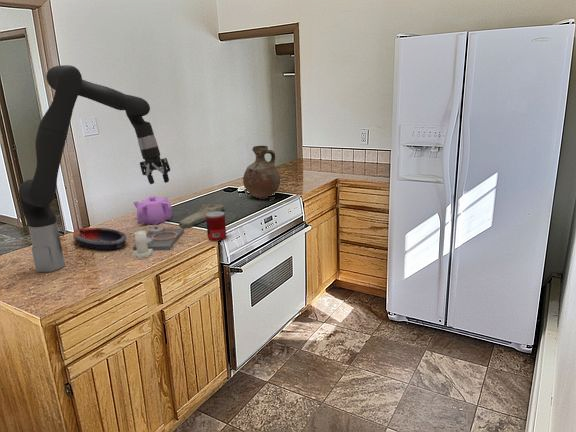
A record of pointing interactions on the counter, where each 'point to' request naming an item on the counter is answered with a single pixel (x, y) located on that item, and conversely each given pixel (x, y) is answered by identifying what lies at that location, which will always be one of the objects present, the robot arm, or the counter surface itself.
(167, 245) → the gear board
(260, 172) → the jug
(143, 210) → the teakettle
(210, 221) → the canned food
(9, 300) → the counter surface
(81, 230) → the dish
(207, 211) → the elongated rock
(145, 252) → the cream gear
